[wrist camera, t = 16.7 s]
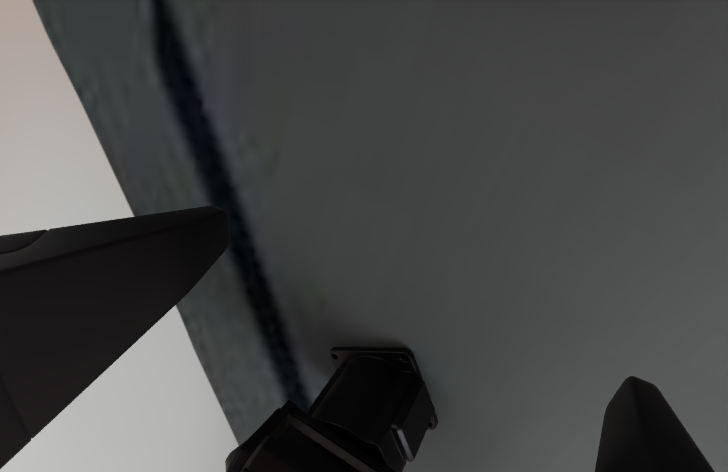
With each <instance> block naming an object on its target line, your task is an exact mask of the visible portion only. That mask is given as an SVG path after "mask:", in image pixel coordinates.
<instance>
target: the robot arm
mask: <svg viewBox="0 0 728 472" xmlns="http://www.w3.org/2000/svg"><path fill="white" fill-rule="evenodd" d="M229 242H230V228H229V215H228V213H227V212H226V211H225V210H222V209H220V208H217V207H215V206H206V207H199V208H192V209H185V210H178V211H171V212H164V213H157V214H150V215H144V216H137V217H130V218H123V219H116V220H109V221H102V222H95V223H88V224H81V225H75V226H68V227H61V228H54V229H50V230H48V231H47V230H40V231H33V232H26V233H18V234H10V235H3V236H0V469H1V468H2V467H3V466H4V465H5V464H6V463H7V462H8V461H9V460H10V459H11V458H13V457H14V456H15V455H16V454H17V453H18V452H19V451H20V450H21V449H22V448H23V447H24V446H25V445H27V444H28V442H30V441H31V438H33V437H35V436H36V435H37V434H38V433H39V432H40V431H41V430H42V429H43V428H44V427H45V426H46V425H47V424H49V423H50V422H51V421H52V420H53V419H54V418H55V417H56V416H57V415H58V414H59V413H60V412H61V411H62V410H64V409H65V408H66V407H67V406H68V405H69V404H70V403H71V402H72V401H73V400H74V399H75V398H76V397H77V396H78V395H79V394H81V393H82V391H84V390H85V389H86V388H87V387H88V386H89V385H90V384H91V383H92V382H93V381H94V380H96V379H97V378H98V377H99V376H100V375H101V374H102V373H103V372H104V371H105V370H106V369H107V368H108V367H109V366H111V365H112V364H113V363H114V362H115V361H116V360H117V359H118V358H119V357H120V356H121V355H122V354H123V353H124V352H125V351H127V350H128V349H129V348H130V347H131V346H132V345H133V344H134V343H135V342H136V341H137V340H138V339H139V338H140V337H141V336H143V335H144V334H145V333H146V332H147V331H148V330H149V329H150V328H151V327H152V326H153V325H154V324H155V323H157V322H158V321H159V320H160V319H161V318H162V317H163V316H164V315H165V314H166V313H167V312H168V311H169V310H170V309H171V308H172V307H174V306H175V305H176V304H177V303H178V302H179V301H180V300H181V299H182V298H183V297H184V296H185V295H186V294H187V293H188V292H189V291H190V290H191V289H192V288H193V287H194V286H195V285H196V283H197V282H198V281H199V280H200V279H201V278H202V277H203V275H204V274H205V273H206V272H207V271H208V270H209V269H210V267H211V266H212V265H213V264H214V263H215V262H216V260H217V259H218V258H219V257H220V256H221V255H222V254H223V252H224V251H225V250H226V249H227V247H228V245H229ZM404 356H406V357H407V358H406V357H404ZM329 357H330V359H331V361H332V364H333V366H334V368H335V370H336V372H335V373H334V375H333V376H332V377H331V379H330V380H329V382H328V383H327V384H326V386H325V387H324V389H323V390H322V391H321V393H320V394H319V396H318V397H317V398H316V400H315V401H314V403H313V404H312V405H311V407H310V408H309V410H308V411H307V412H304V411H303V410H301V409H300V408H298V407H297V404H295V403H294V402H292V401H291V400H288V401H287V403H286V404H285V405H284V406H283V407H282V408H281V409H280V408H278V409H277V410H275V412H274V413H273V414H272V415H271V416H270V417H269V418H268V419H267V420H266V421H265V422H264V423H263V424H262V426H261V427H260V428H259V429H258V430H257V431H256V432H255V433H254V434H253V435H252V436H251V437H250V438H249V439H248V440H247V441H245V442H244V443H243V444H241V445H240V446H239V447H237V448H236V449H235V450H234V451H232V452H231V453H230V454H229V456H228V457H227V459H226V461H225V463H226V472H402V471H403V469H404V466H405V464H406V462H412V461H413V460H414V459H415V456H416V454H417V452H418V449H419V447H420V444H421V442H422V440H423V437H424V435H425V432H426V430H427V429H431V430H433V429H435V428H436V426H437V424H438V420H437V417H436V414H435V412H434V411H435V409H434V406H433V404H432V401H431V398H430V396H429V393H428V390H427V388H426V385H425V382H424V381H423V379H422V377H421V374H420V371H419V369H418V366H417V363H416V361H415V358H414V355H413V353H412V352H411V351H410V350H408V349H405V348H358V347H333V348H332V349H331V350H330V352H329ZM595 472H714V470H713V469H712V467H711V466H710V464H709V463H708V462H707V460H706V459H705V457H704V456H703V454H702V453H701V451H700V450H699V448H698V447H697V445H696V444H695V442H694V441H693V439H692V438H691V436H690V435H689V434H688V432H687V431H686V429H685V428H684V426H683V425H682V423H681V422H680V420H679V419H678V417H677V416H676V414H675V413H674V411H673V410H672V408H671V407H670V406H669V404H668V403H667V401H666V400H665V398H664V397H663V395H662V394H661V392H660V391H659V389H658V388H657V387H656V386H655V385H653V384H652V383H649V382H647V381H644V380H642V379H639V378H637V377H634V376H630V377H628V378H627V379H625V381H624V382H623V384H622V385H621V386H620V388H619V389H618V391H617V392H616V394H615V395H614V397H613V398H612V399H611V401H610V402H609V404H608V406H607V409H606V411H605V415H604V421H603V427H602V433H601V439H600V445H599V451H598V457H597V462H596V468H595Z"/></svg>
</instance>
